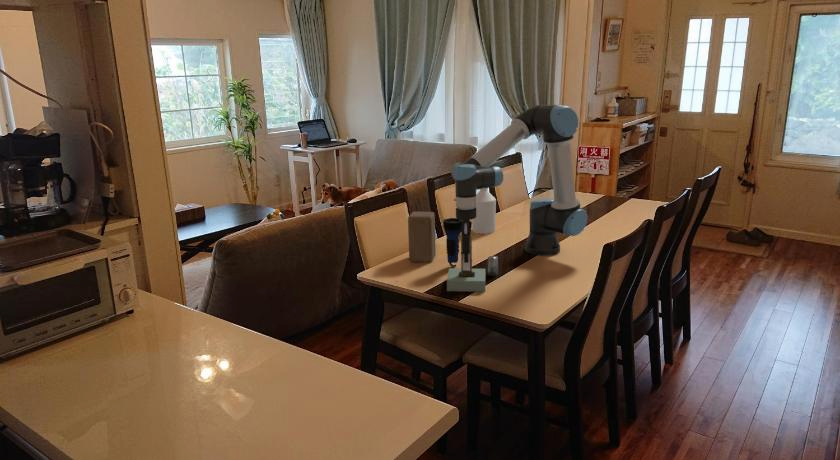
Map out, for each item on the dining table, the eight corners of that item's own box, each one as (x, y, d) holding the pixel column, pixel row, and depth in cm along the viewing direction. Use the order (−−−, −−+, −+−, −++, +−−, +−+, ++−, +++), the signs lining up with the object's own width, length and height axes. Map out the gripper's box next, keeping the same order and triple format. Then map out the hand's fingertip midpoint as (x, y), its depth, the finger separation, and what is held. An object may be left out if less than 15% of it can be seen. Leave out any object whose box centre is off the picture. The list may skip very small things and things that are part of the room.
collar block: (485, 278, 230) (485, 268, 229) (485, 291, 216) (485, 281, 215) (449, 278, 231) (449, 268, 230) (447, 291, 218) (446, 280, 217)
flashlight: (460, 271, 239) (459, 223, 234) (441, 269, 242) (440, 222, 236) (465, 265, 246) (465, 218, 241) (447, 263, 249) (446, 217, 244)
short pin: (498, 272, 236) (498, 255, 234) (498, 276, 232) (498, 259, 230) (488, 272, 236) (488, 255, 235) (488, 275, 233) (488, 258, 231)
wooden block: (431, 263, 250) (430, 217, 245) (408, 262, 252) (407, 216, 247) (436, 255, 260) (435, 211, 254) (413, 255, 262) (412, 211, 256)
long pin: (472, 277, 225) (471, 234, 221) (471, 281, 221) (471, 237, 217) (461, 277, 226) (461, 234, 221) (461, 281, 222) (460, 237, 217)
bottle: (479, 226, 305) (479, 178, 299) (500, 229, 298) (500, 180, 292) (467, 232, 296) (467, 182, 289) (488, 235, 289) (488, 184, 283)
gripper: (456, 202, 225) (457, 260, 231) (454, 212, 208) (455, 275, 214) (476, 202, 224) (477, 261, 230) (475, 212, 208) (476, 275, 214)
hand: (466, 268), depth 222 cm, fingers closed on long pin, 4 cm apart
